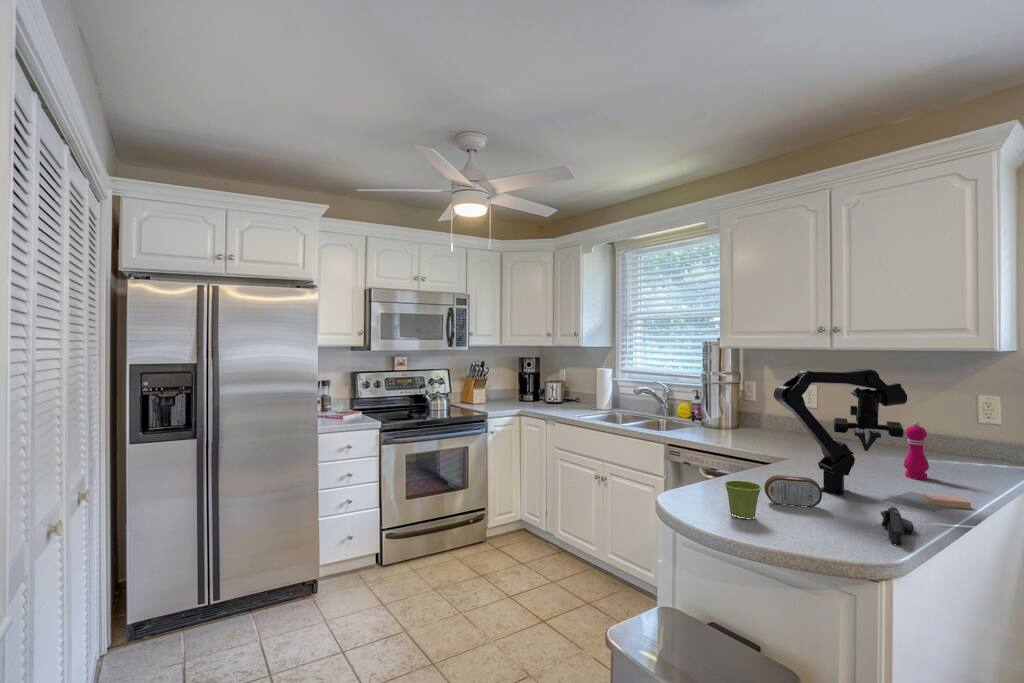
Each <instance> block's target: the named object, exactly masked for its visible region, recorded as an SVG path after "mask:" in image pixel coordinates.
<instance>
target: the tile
mask: <svg viewBox="0 0 1024 683" xmlns="http://www.w3.org/2000/svg"><path fill="white" fill-rule="evenodd" d="M921 494H922V499H923V500H925V501H926V502H928V503H930V504H931V505H933V506H942V507H945V508H954V509H956V508H958V509H972V508H971V504H972V503H971V501H969V500H967V499H965V498H963V497H961V496H959V495H952V494H951V495H950V494H940V493H939V494H938V493H937V494H936V493H925V492H923V493H921Z"/></svg>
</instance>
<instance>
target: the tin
mask: <svg viewBox="0 0 1024 683" xmlns="http://www.w3.org/2000/svg"><path fill="white" fill-rule="evenodd" d="M821 488H822V487H821V486H820V485H819V483H817V481H815V480H814V479H813V478H810V477H805V476H804V477H803V476H793V475H792V476H791V475H779V474H777V475H773V476H771V477H769V478H768V479H767V480H766V481H765V484H764V493H765V496H766V497H767V499H768V500H770V501H771V502H772V503H774V504H775V503H776V505H778V504H786V505H785V506H787V505H794V506H793V507H797V506H807V507H810V508H814V507H816V506H818V505H819V504H820V503H821V501H822V499H823V491H822V490H821ZM807 507H806V508H807Z"/></svg>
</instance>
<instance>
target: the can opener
mask: <svg viewBox="0 0 1024 683" xmlns="http://www.w3.org/2000/svg"><path fill="white" fill-rule="evenodd" d="M879 514H880V515H881V517H882V522H881V526H882V527H884V528H886V529H887V533H888V538H889V541H890V543H891V544H892V543H893V544H896V545H901V544H902V545H903V543H902V542H903V540H902V538H903V537H904V536H905V535H904V534H906V533H907V534H908V535H912V534H913V533H914V528H915V527H914V524H913V522H912V521H910V520H908V519H906V518H903V517H902V516H901V513H900V511H899V509H898V508H897V507H894V506H891V507H888V508H887V510H882V509H881V510H880V513H879ZM907 534H906V535H907ZM893 544H892V545H893ZM896 545H895V546H896ZM902 545H901V546H902Z"/></svg>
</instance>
